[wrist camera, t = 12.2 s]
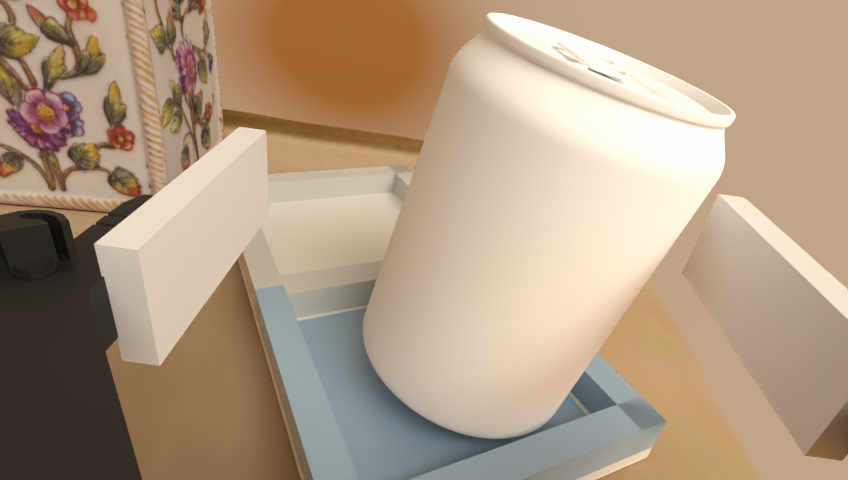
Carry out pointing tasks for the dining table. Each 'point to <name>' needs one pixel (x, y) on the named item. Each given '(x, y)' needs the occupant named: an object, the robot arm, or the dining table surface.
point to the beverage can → (533, 222)
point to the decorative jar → (104, 98)
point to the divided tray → (356, 377)
